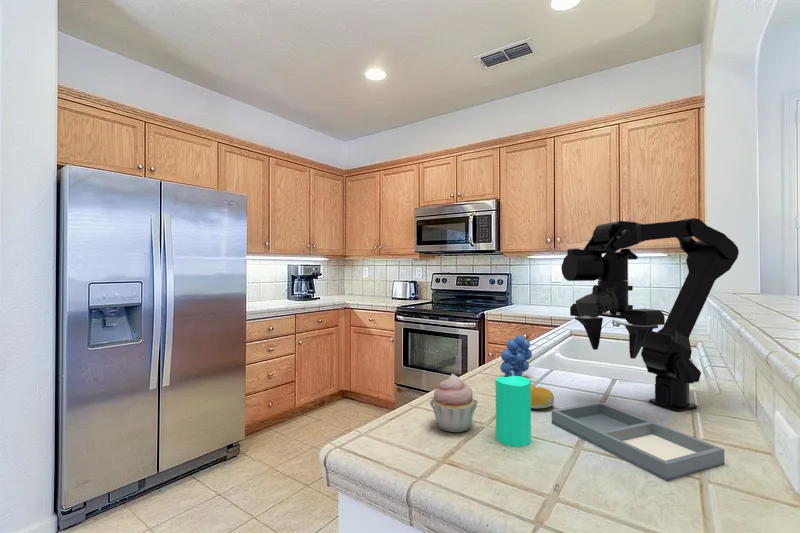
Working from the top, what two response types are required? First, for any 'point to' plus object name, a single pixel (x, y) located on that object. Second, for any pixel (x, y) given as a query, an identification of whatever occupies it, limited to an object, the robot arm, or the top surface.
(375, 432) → the top surface
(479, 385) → the top surface
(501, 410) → the candle
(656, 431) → the gray divided tray
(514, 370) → the grapes
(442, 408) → the cupcake
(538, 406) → the bread roll
